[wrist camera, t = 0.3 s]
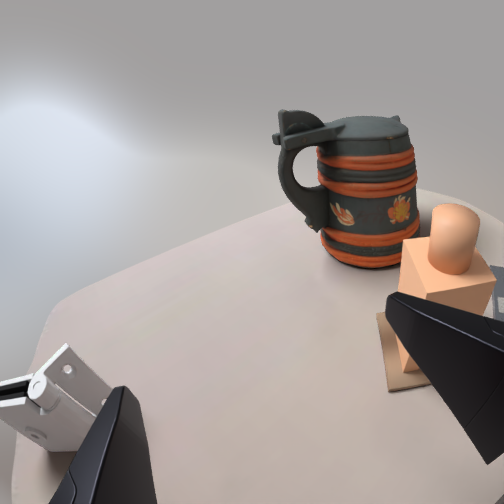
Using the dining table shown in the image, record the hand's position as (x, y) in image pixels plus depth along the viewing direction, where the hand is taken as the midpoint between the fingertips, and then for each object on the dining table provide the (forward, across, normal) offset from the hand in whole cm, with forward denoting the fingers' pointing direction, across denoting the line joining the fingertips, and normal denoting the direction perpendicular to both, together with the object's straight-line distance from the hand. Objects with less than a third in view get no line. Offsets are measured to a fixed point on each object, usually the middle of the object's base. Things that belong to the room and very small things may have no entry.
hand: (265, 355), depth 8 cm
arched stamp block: (+6, -16, +14) cm, 22 cm away
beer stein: (+24, -20, +13) cm, 33 cm away
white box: (+11, +21, +17) cm, 29 cm away
